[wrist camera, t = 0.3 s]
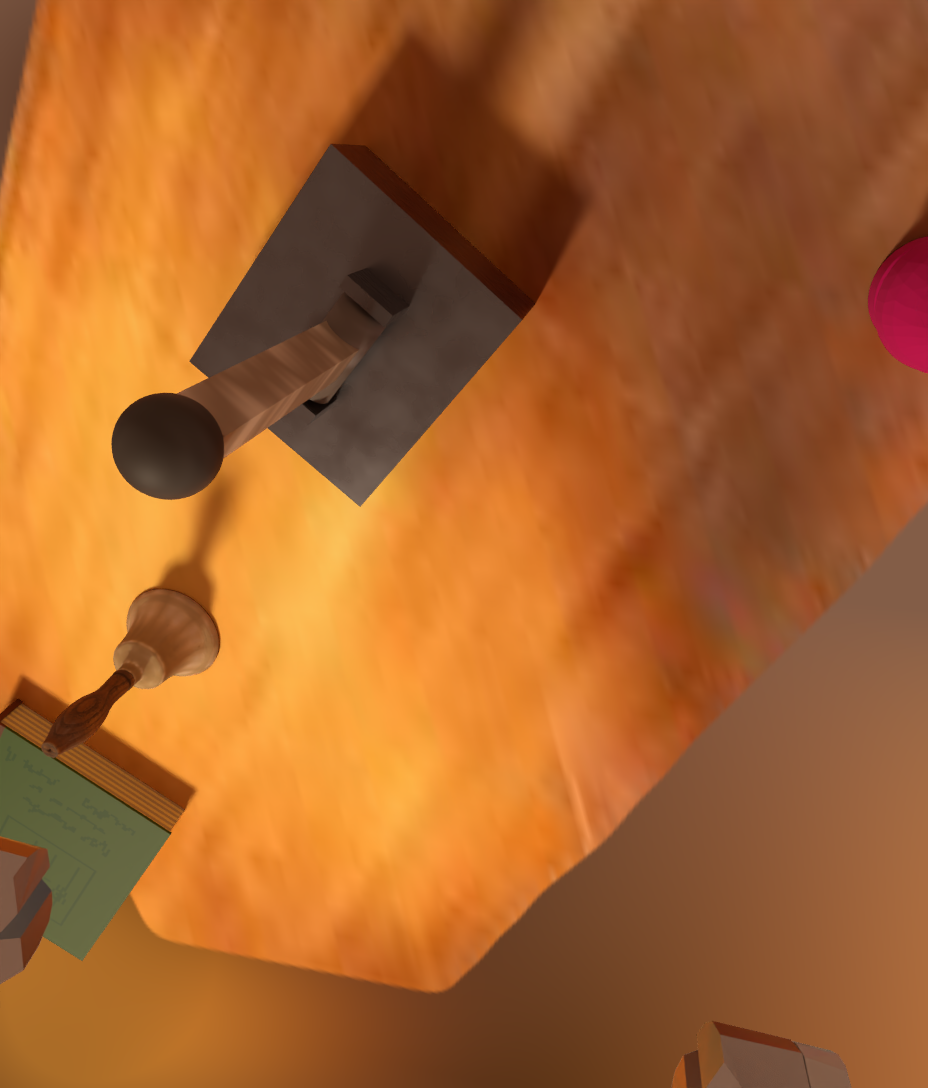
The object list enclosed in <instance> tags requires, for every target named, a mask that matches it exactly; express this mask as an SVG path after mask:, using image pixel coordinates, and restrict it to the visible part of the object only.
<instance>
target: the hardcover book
mask: <svg viewBox="0 0 928 1088" xmlns="http://www.w3.org/2000/svg"><path fill="white" fill-rule="evenodd" d="M52 725H53V723H51V722H50V721H48V720H47V719H45V718H44V717H42V716H40V715H39V714H37V713H36V712H34V711H33V710H31V709H30V708H28V707H27V706H25V705H24V704H22V701H21V700H19V699H17V700H16V701H15V702H13V703H12V704H11V705H10V706H9V707H8V708H6V709H5V710H4V711H3V712H2V713H1V714H0V837H4V838H8V839H11V840H15V841H19V842H23V843H27V844H30V845H34V846H38V847H42V848H46V849H47V850H48V857H49V864H50V867H49V869H48V870H47V872H46V873H45V875H44V876H43V878H42V880H43V881H44V882H45V883H46V884H47V886H48V887H49V888H50V889H51V890H52V908H51V914H50V919H49V922H48V925H47V927H46V929H45V932H44V934H43V937H45V938H46V939H48V940H49V941H51V942H53V943H54V944H56V945H57V946H59V947H61V948H62V949H64V950H65V951H67V952H69V953H70V954H72V955H73V956H75V957H77V958H78V959H80V960H81V961H82V960H83V959H84V958H85V956H86V955H87V953H88V952H89V950H90V949H91V948H92V946H93V945H94V943H95V942H96V940H97V939H98V937H99V936H100V935H101V933H102V932H103V931H104V930H105V928H106V927H107V925H108V924H109V922H110V921H111V919H112V918H113V917H114V915H115V914H116V912H117V911H118V909H119V908H120V906H121V905H122V904H123V902H124V901H125V900H126V898H127V897H128V895H129V894H130V892H131V890H132V889H133V887H134V886H135V885H136V883H137V882H138V880H139V879H140V877H141V876H142V875H143V873H144V872H145V870H146V869H147V867H148V866H149V865H150V863H151V862H152V860H153V859H154V857H155V856H156V855H157V853H158V852H159V850H160V849H161V847H162V846H163V845H164V843H165V842H166V840H167V839H168V837H169V836H170V835H171V832H170V831H171V829H172V828H173V826H174V825H175V823H176V822H177V820H178V819H179V818H180V816H181V815H182V813H183V812H184V810H185V809H183V808H182V807H180V806H179V805H177V804H175V803H174V802H172V801H171V800H169V799H168V798H166V797H165V796H163V795H162V794H160V793H159V792H157V791H156V790H154V789H152V788H151V787H149V786H148V785H146V784H145V783H143V782H142V781H140V780H139V779H137V778H136V777H134V776H133V775H131V774H129V773H128V772H126V771H125V770H123V769H122V768H120V767H119V766H117V765H116V764H114V763H113V762H111V761H109V760H108V759H106V758H105V757H103V756H102V755H100V754H99V753H97V752H96V751H94V750H93V749H91V748H90V747H88V746H86V745H85V744H83V743H82V744H80V745H78V746H77V747H74V748H72V749H70V750H68V751H66V752H63V753H62V754H60V755H58V756H57V757H55V758H52V757H48V756H46V755H45V754H44V753H43V751H42V749H41V746H42V744H43V742H44V741H45V739H46V737H47V736H48V733H49V731H50V729H51V727H52Z"/></svg>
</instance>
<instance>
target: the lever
mask: <svg viewBox="0 0 928 1088" xmlns="http://www.w3.org/2000/svg"><path fill="white" fill-rule="evenodd" d="M387 326H388V325H387ZM387 326H385V327H383V326H382V325H381V324H380V323H379V322H378V321H377V320H375V319H374V318H373V317H372V316H371V315H370V314H369V313H368V312H366V311H365V310H364V309H363V308H362V307H361V306H360V305H359V304H358V303H356V302H355V301H354V300H353V299H352V298H351V297H350V296H349V295H347V294H346V293H345V292H343V294H342V295H341V296H340V298H339V299H338V300H337V302H336V303H335V305H334V306H333V307H332V309H331V310H330V311H329V313H328V314H327V316H326V317H325V318H324V320H323V321H322V322H321V324H318V325H316V326H314V327H312V328H310V329H308V330H306V331H304V332H302V333H300V334H298V335H296V336H294V337H292V338H290V339H288V340H286V341H284V342H282V343H280V344H278V345H275V346H273V347H271V348H269V349H267V350H265V351H263V352H261V353H259V354H257V355H255V356H253V357H251V358H249V359H247V360H245V361H243V362H241V363H239V364H237V365H234V366H232V367H230V368H228V369H226V370H224V371H222V372H220V373H218V374H216V375H214V376H212V377H210V378H208V379H206V380H204V381H202V382H200V383H198V384H196V385H194V386H191V387H189V388H187V389H185V390H183V391H181V392H179V393H177V394H174V393H158V394H152V395H148V396H145V397H143V398H141V399H139V400H137V401H135V402H134V403H133V404H131V405H130V406H129V407H128V408H127V409H126V410H125V411H124V412H123V413H122V414H121V416H120V417H119V419H118V421H117V423H116V425H115V428H114V431H113V435H112V454H113V458H114V461H115V464H116V466H117V468H118V470H119V472H120V473H121V475H122V476H123V477H124V479H125V480H126V481H127V482H128V483H129V484H130V485H131V486H133V487H134V488H135V489H137V490H138V491H140V492H142V493H144V494H146V495H148V496H151V497H154V498H159V499H168V500H172V499H181V498H186V497H189V496H191V495H194V494H196V493H198V492H199V491H201V490H203V489H204V488H205V487H206V486H208V485H209V484H210V483H211V482H212V480H213V479H214V478H215V476H216V475H217V473H218V472H219V470H220V467H221V465H222V461H223V458H225V457H226V456H227V455H229V454H230V453H232V452H233V451H235V450H236V449H238V448H239V447H240V446H242V445H243V444H245V443H246V442H248V441H249V440H251V439H252V438H253V437H255V436H256V435H258V434H259V433H261V432H262V431H264V430H265V429H266V428H268V427H269V426H271V425H272V424H274V423H275V422H277V421H278V420H279V419H281V418H282V417H284V416H285V415H287V414H288V413H290V412H291V411H292V410H294V409H295V408H297V407H298V406H300V405H301V404H303V403H304V402H305V401H307V400H308V399H310V400H312V401H314V402H317V403H321V404H325V403H328V402H329V401H330V399H331V398H332V397H333V395H334V394H335V393H336V391H337V390H338V389H339V388H340V386H341V385H342V384H343V382H344V381H345V380H346V379H347V377H348V376H349V375H350V373H351V372H352V371H353V370H354V368H355V367H356V366H357V364H358V363H359V362H360V360H361V359H362V358H363V357H364V355H365V354H366V353H367V351H368V350H369V349H370V348H371V346H372V345H373V344H374V342H375V341H376V340H377V339H378V337H379V336H380V335H381V333H382V332H383V331H384V329H385V328H386V327H387Z"/></svg>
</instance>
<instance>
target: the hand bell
mask: <svg viewBox="0 0 928 1088" xmlns="http://www.w3.org/2000/svg"><path fill="white" fill-rule="evenodd" d="M127 632H128V633H127V635H126V636H125V638H124V639H123V640H122V642H121V643H120V644H119V645H118V646H117V648H116V649H115V652H114V658H113V659H114V665H115V668H116V670H117V671H116V672H114V673H113V675H112V676H111V677H110V678H109V679H108V680H107V681H106V682H105V683H104V684H103V685H102V686H101V687H100V688H99V689H98V690H96V691H95V692H93V693H91V694H88V695H86V696H84V697H82V698H80V699H78V700H77V701H75V702H74V703H72V704H71V705H70V706H69V707H68V708H66V709H65V710H64V711H63V712H62V713H61V714H60V715H59V716H58V718H57V719H56V720H55V722H54V724H53V725H52V727H51V729H50V731H49V733H48V736H47V737H46V739H45V741H44V742H43V744H42V746H41V749H42V751H43V753H44V754H45V755H46V756H48V757H52V758H55V757H57V756H58V755H60V754H62V753H63V752H66V751H68V750H70V749H72V748H74V747H77V746H78V745H80V744H82V743H83V742H85V741H86V740H88V739H89V738H90V737H91V736H92V735H93V734H94V733H95V732H96V731H97V730H98V728H99V727H100V726H101V725H102V723H103V722H104V720H105V719H106V717H107V715H108V713H109V710H110V709H111V707H112V705H113V704H114V703H115V702H116V701H117V700H118V699H119V698H120V697H121V696H122V695H124V694H125V693H126V692H127V691H128V690H129V689H131V688H132V687H133V686H134V687H137V688H140V689H151V688H155V687H157V686H159V685H160V684H161V683H163V682H164V681H165V680H167V679H168V678H170V677H171V676H173V675H174V676H191V675H195V674H199V673H201V672H203V671H205V670H206V669H208V668H209V667H210V666H211V665H212V664H213V662H214V661H215V659H216V657H217V654H218V649H219V639H218V634H217V630H216V628H215V625H214V623H213V621H212V620H211V618H210V617H209V615H208V614H207V613H206V611H205V610H204V609H203V608H202V607H201V606H200V605H199V604H198V603H196V602H195V601H194V600H192V599H191V598H189V597H187V596H186V595H184V594H181V593H179V592H176V591H172V590H167V589H153V590H150V591H147V592H145V593H143V594H141V595H140V596H138V597H137V598H136V599H135V600H134V601H133V603H132V604H131V606H130V609H129V611H128V615H127Z"/></svg>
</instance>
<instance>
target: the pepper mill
mask: <svg viewBox="0 0 928 1088" xmlns="http://www.w3.org/2000/svg"><path fill="white" fill-rule="evenodd" d="M868 308H869V314H870V317H871V320H872V322H873V324H874V326H875V328H876V329H877V331H878V335H879V337H880V339H881V341H882V343H883V345H884V346H885V348H886V349H887V350H888V351H889V353H890V354H891V355H892V356H893V357H894V358H896V359H897V360H898V361H900V362H901V363H903V364H905V365H907V366H909V367H911V368H914V369H917V370H919V371H922V372H925V373H928V236H927V237H923V238H919V239H916V240H913V241H911V242H909V243H907V244H905V245H904V246H902V247H900V248H899V249H897V250H896V251H895V252H894V253H892V254H891V255H890V256H889V257H888V258H887V259H886V260H885V261H884V262H883V264H882V265H881V266H880V268H879V269H878V271H877V273H876V274H875V276H874V278H873V281H872V283H871V286H870V290H869V296H868Z"/></svg>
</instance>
